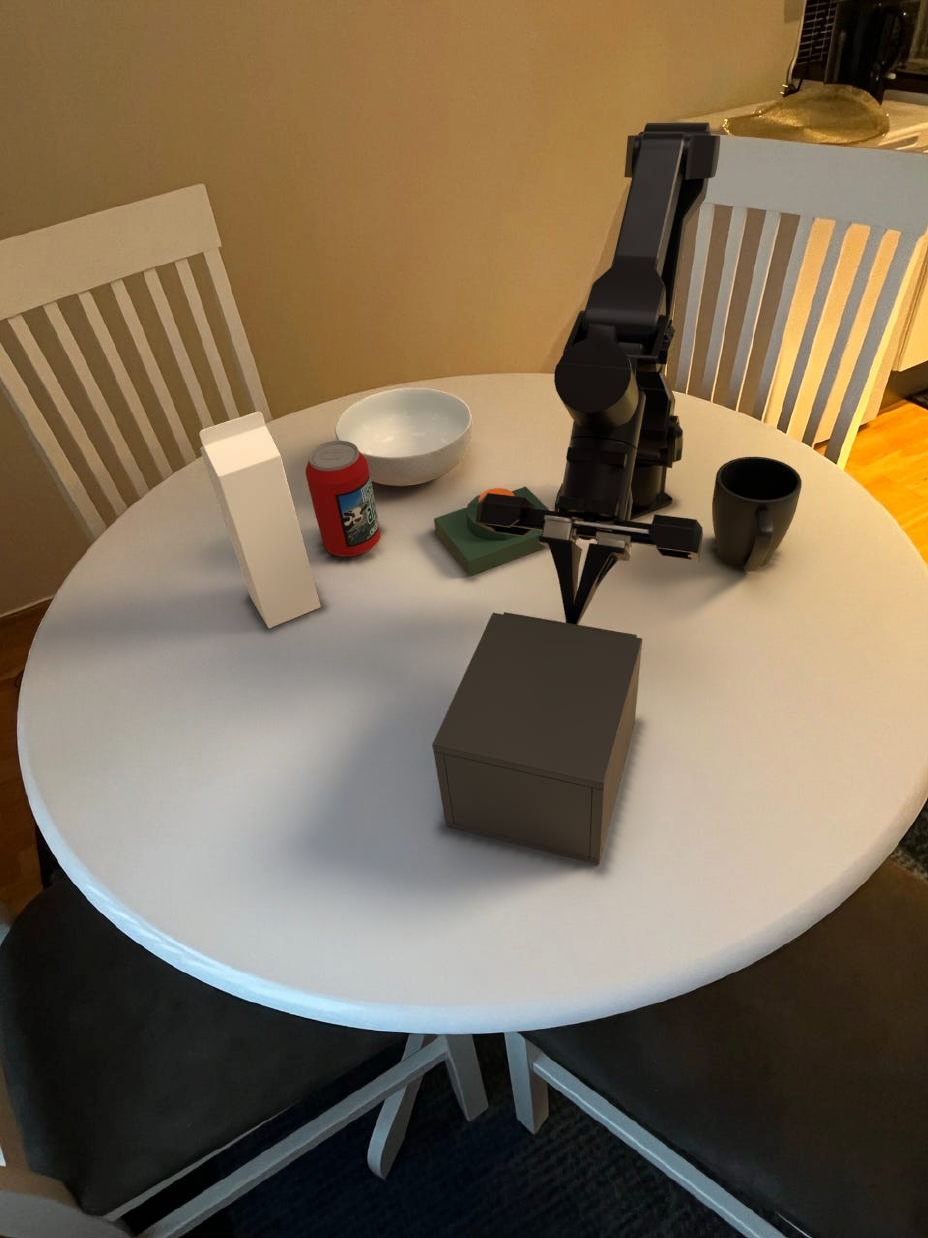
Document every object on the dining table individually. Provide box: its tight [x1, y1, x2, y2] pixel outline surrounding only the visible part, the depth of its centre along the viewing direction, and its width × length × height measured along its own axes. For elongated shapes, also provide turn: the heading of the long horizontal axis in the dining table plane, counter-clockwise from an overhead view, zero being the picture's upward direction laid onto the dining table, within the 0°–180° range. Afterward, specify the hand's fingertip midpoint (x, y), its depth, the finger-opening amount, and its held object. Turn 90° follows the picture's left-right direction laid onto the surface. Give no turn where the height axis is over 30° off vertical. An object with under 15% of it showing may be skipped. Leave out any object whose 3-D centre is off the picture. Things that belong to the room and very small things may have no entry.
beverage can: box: [304, 440, 381, 557], centre depth 92 cm, size 7×7×12 cm
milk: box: [198, 411, 322, 629], centre depth 82 cm, size 6×6×22 cm
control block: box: [433, 486, 550, 577], centre depth 94 cm, size 12×9×4 cm
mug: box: [711, 456, 803, 573], centre depth 85 cm, size 8×12×10 cm
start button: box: [479, 487, 515, 502], centre depth 92 cm, size 4×4×2 cm
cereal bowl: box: [334, 387, 473, 487], centre depth 105 cm, size 17×17×7 cm
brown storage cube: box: [432, 612, 643, 866], centre depth 67 cm, size 15×13×11 cm
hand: (571, 626), depth 71 cm, fingers closed
